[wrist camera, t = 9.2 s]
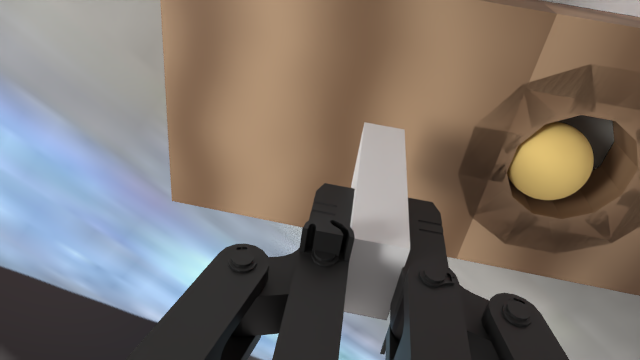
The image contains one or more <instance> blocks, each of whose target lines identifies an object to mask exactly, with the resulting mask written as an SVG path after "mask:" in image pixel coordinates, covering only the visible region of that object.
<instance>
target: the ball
mask: <svg viewBox="0 0 640 360" xmlns="http://www.w3.org/2000/svg"><path fill="white" fill-rule="evenodd" d="M593 163H594V157H593V151H592V148H591V145H590V143H589V142H588V140H587V139H586V137H585V136H584V135H583V134H582V133H581V132H580V131H578V130H577V129H576V128H574V127H572V126H570V125H568V124H565V123H561V122H553V123H549V124H545V125H544V126H543V127H541V128H540V129H539V130H538V131H536V132H535V133H534V134H533V135H531V136H530V137H529V138H528V139H526V140H525V141H524V142H523V143H521V144H520V145H519V146H518V148H517V150H516V152H515V154H514V157H513V159H512V161H511V164H510V166H509V168H508V171H507V174H508V177H509V179H510V180H511V182H512V183H513V184H514V186H515V187H516V188H517V189H518V190H520V191H521V192H523V193H524V194H526V195H528V196H530V197H532V198H536V199H540V200H556V199H561V198H565V197H567V196H570V195H571V194H573V193H575V192H576V191H578V190H579V189H580V188H581V187H582V186H583V185H584V184H585V183H586V182H587V180H588V178H589V177H590V175H591V172H592V169H593Z"/></svg>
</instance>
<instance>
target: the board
mask: <svg viewBox="0 0 640 360" xmlns="http://www.w3.org/2000/svg"><path fill="white" fill-rule="evenodd" d="M160 1H161V18H162V35H163V53H164V70H165V88H166V105H167V122H168V140H169V157H170V175H171V192H172V201H175V202H180V203H185V204H190V205H195V206H200V207H205V208H210V209H215V210H220V211H225V212H230V213H235V214H240V215H244V216H249V217H254V218H259V219H264V220H269V221H274V222H279V223H284V224H289V225H294V226H299V227H304V225H305V223H306V222H307V221H309V217H310V213H311V210H312V205H313V202H314V197H315V193H316V191H317V190H318V189H319V188H320V187H321V186H322V185H323V184H324V183H327V184H333V185H338V186H343V187H349V188H351V185H352V179H353V175H354V170H355V165H356V160H357V155H358V151H359V146H360V141H361V136H362V132H363V127H364V122H366V123H371V124H377V125H382V126H388V127H393V128H399V129H404V130H405V150H406V171H407V191H408V198H413V199H419V200H424V201H429V202H433V203H434V205H435V206H436V207H437V209H438V210H439V212H440V213H441V220H442V227H443V235H444V240H445V247H446V254H447V257H452V258H457V259H462V260H467V261H471V262H476V263H481V264H486V265H491V266H496V267H501V268H506V269H511V270H516V271H521V272H526V273H531V274H536V275H541V276H545V277H550V278H555V279H560V280H565V281H570V282H575V283H580V284H585V285H590V286H595V287H600V288H605V289H610V290H615V291H619V292H624V293H629V294H634V295H639V296H640V17H634V16H629V15H623V14H617V13H611V12H605V11H599V10H594V9H588V8H582V7H576V6H570V5H565V4H559V3H553V2H547V1H541V0H160ZM579 115H585V116H591V117H596V118H601V119H607V120H612V121H613V131H614V143H613V145H612V147H611V148H610V150H609V152H608V154H607V155H606V157H605V159H604V161H603V162H602V164H601V166H599V167H598V168H597V169H595V170H594V171H592V172H591V175H590V177H589V178H588V180H587V182H586V183H585V184H584V185H583V186H582V187H581V188H580V189H579V190H578V191H576V192H575V193H573V194H571V195H570V196H567V197H565V198H561V199H556V200H540V199H536V198H532V197H530V196H528V195H526V194H524V193H523V192H521V191H520V190H518V189H517V188H516V187H515V186H514V184H513V183H512V182H511V180H510V179H509V177H508V174H507V171H508V168H509V166H510V164H511V161H512V159H513V157H514V154H515V152H516V150H517V148H518V146H519V145H520V144H521V143H523V142H524V141H525V140H526V139H528V138H529V137H530V136H531V135H533V134H534V133H535V132H536V131H538V130H539V129H540V128H541V127H543V126H544V125H545V124H549V123H553V122H556V121H560V120H564V119H568V118H571V117H575V116H579Z"/></svg>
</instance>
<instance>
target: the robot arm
mask: <svg viewBox="0 0 640 360" xmlns="http://www.w3.org/2000/svg"><path fill="white" fill-rule="evenodd" d="M344 312H348V313H353V314H358V315H363V316H368V317H373V318H378V319H383V320H387V318H388V315H389V312H390V325H389V328H388V331H387V334H386V337H385V340H384V343H383V346H382V349H381V353H380V354H385V351H386V360H569V359H568V357H567V355H566V354H565V352H564V350H563V349H562V347H561V346H560V344H559V342H558V341H557V339H556V337H555V336H554V334H553V333H552V331H551V329H550V328H549V326H548V324H547V323H546V321H545V320H544V318H543V316H542V315H541V313H540V312H539V311H538V310H537V309H536V307H535V306H534V305H532V304H531V303H530V302H528V301H527V300H526V299H524V298H521V297H519V296H517V295H514V294H508V293H501V294H496V295H495V296H493V297H492V298H491V299H490V301H489V300H487V299H484V298H482V297H480V296H478V295H475V294H473V293H471V292H469V291H468V290H466V289H464V288H463V287H462V286H460V285H459V282H458V279H457V277H456V275H455V274H454V273H453V271H452V270H451V269H450V268H448V261H447V254H446V247H445V240H444V235H443V227H442V220H441V213H440V212H439V210H438V209H437V207H436V206H435V205H434V203H433V202H429V201H424V200H419V199H413V198H408V191H407V171H406V150H405V130H404V129H399V128H393V127H388V126H382V125H377V124H371V123H366V122H364V127H363V132H362V136H361V141H360V146H359V151H358V155H357V160H356V165H355V170H354V175H353V179H352V185H351V188H349V187H343V186H338V185H333V184H327V183H324V184H323V185H322V186H321V187H320V188H319V189H318V190H317V191H316V193H315V197H314V202H313V205H312V210H311V213H310V217H309V221H307V222H306V223H305V225H304V227H303V229H302V236H301V243H300V248H299V249H298V250H297V251H295V252H293V253H292V254H289V255H286V256H280V257H268V256H267V255H266V254H265V252H264V251H263V250H261V249H260V248H258V247H256V246H253V245H249V244H235V245H232V246H229V247H226V248H225V249H224V250H222V251H221V252H220V253H219V254H218V255H217V256H216V257H215V258H214V260H213V261H212V262H211V263H210V264H209V265H208V266H207V267H206V269H205V270H204V271H203V272H202V273H201V274H200V275H199V277H198V278H197V279H196V280H195V281H194V282H193V283H192V285H191V286H190V287H189V288H188V289H187V290H186V291H185V293H184V294H183V295H182V296H181V297H180V298H179V299H178V301H177V302H176V303H175V304H174V305H173V306H172V307H171V309H170V310H169V311H168V312H167V313H166V314H165V315H164V316H163V318H162V319H161V320H160V321H159V322H158V323H157V325H156V326H155V327H154V328H153V329H152V330H151V331H150V332H149V334H148V335H147V336H146V337H145V338H144V339H143V340H142V342H141V343H140V344H139V345H138V346H137V347H136V348H135V350H134V351H133V352H132V353H131V354H130V355H129V356H128V358H127V359H126V360H247V359H248V357H249V356H250V354H251V353H252V351H253V349H254V348H255V346H256V344H257V343H258V341H259V340H260V338H261V335H267V334H277V333H279V335H278V339H277V343H276V347H275V351H274V355H273V359H272V360H338V357H339V348H340V340H341V331H342V322H343V313H344Z"/></svg>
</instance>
